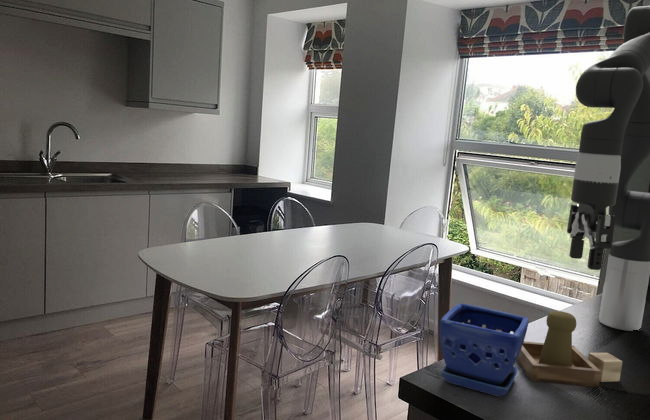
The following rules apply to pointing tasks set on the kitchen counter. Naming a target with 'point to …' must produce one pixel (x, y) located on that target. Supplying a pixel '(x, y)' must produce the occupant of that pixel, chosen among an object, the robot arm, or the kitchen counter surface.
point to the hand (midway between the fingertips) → (584, 263)
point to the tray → (558, 367)
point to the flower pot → (481, 347)
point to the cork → (558, 339)
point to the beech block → (606, 366)
